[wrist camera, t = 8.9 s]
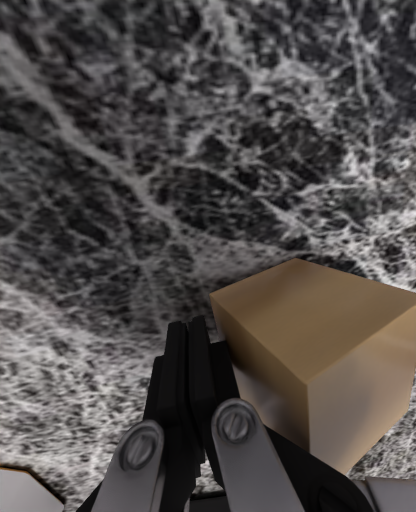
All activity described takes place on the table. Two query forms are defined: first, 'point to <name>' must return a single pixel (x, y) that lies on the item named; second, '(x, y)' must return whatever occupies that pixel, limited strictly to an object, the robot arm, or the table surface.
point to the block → (321, 355)
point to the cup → (25, 493)
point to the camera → (210, 505)
